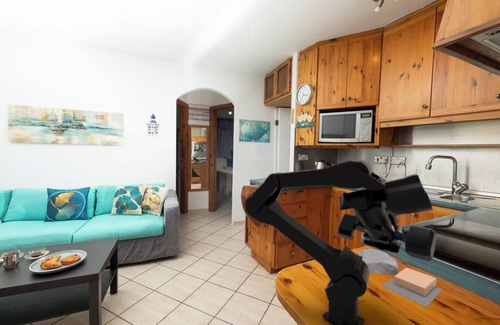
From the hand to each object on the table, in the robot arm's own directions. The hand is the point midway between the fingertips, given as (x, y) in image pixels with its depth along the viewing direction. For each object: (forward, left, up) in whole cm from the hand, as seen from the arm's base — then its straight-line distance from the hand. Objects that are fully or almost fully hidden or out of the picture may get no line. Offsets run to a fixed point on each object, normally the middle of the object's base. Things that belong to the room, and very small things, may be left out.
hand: (391, 252), depth 53 cm
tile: (+9, 0, -11) cm, 14 cm away
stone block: (+16, +12, -13) cm, 23 cm away
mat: (+11, 0, -13) cm, 16 cm away
